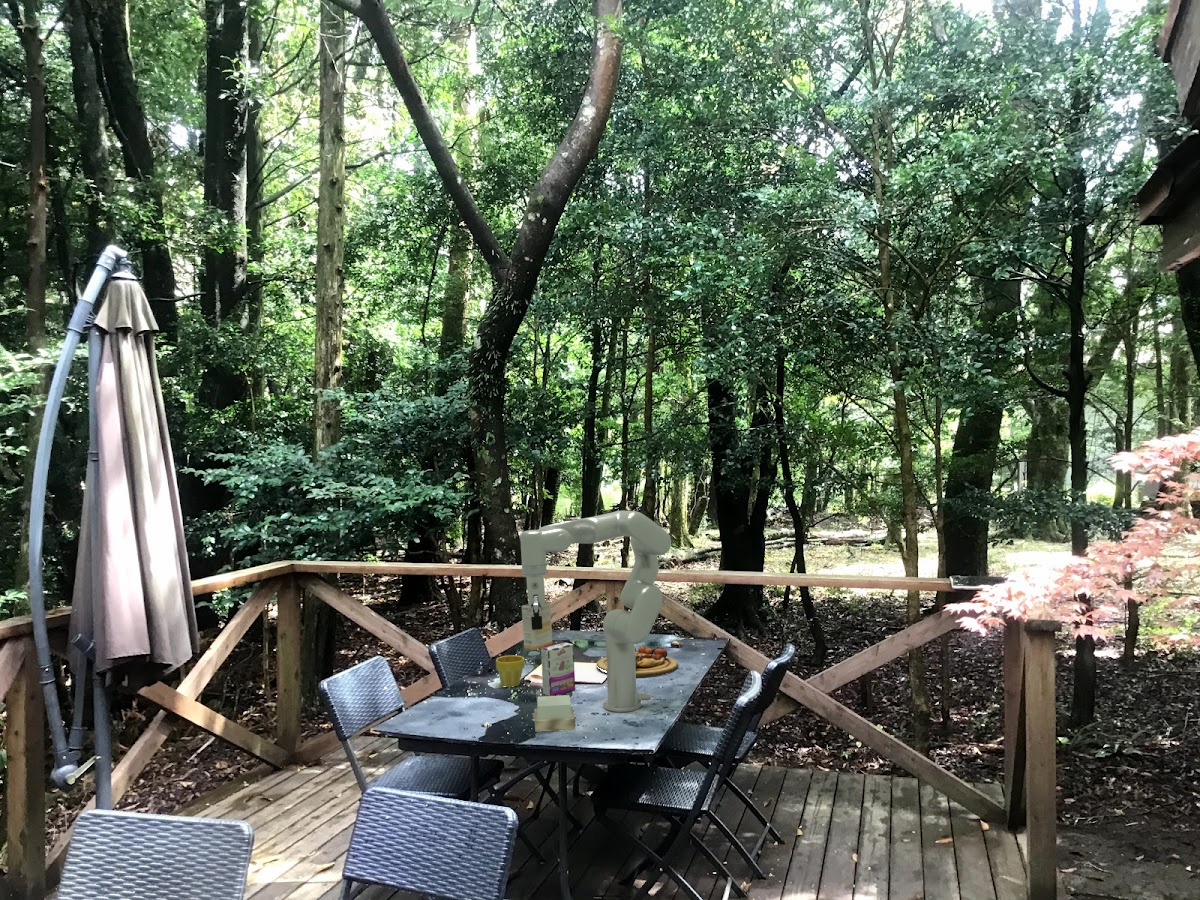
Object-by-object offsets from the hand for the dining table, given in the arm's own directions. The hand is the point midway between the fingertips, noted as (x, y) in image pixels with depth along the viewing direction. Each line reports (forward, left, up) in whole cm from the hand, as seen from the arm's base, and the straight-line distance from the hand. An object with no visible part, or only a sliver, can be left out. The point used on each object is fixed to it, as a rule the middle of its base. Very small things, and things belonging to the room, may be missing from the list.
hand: (537, 625), depth 239 cm
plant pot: (+10, -46, -31) cm, 56 cm away
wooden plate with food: (-40, -62, -31) cm, 80 cm away
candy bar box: (-7, -34, -31) cm, 46 cm away
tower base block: (-4, 0, -31) cm, 31 cm away
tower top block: (-5, 0, -27) cm, 27 cm away
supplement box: (0, 0, -6) cm, 6 cm away
